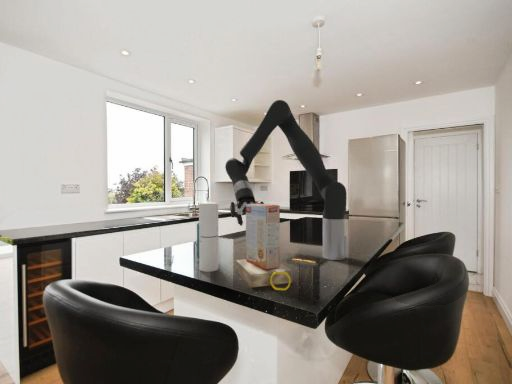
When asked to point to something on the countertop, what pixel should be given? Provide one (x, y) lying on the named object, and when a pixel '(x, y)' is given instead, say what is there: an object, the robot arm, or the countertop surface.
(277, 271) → the yellow ring
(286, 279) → the oak plinth
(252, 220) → the cracker box
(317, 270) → the countertop surface
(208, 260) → the cylindrical container
